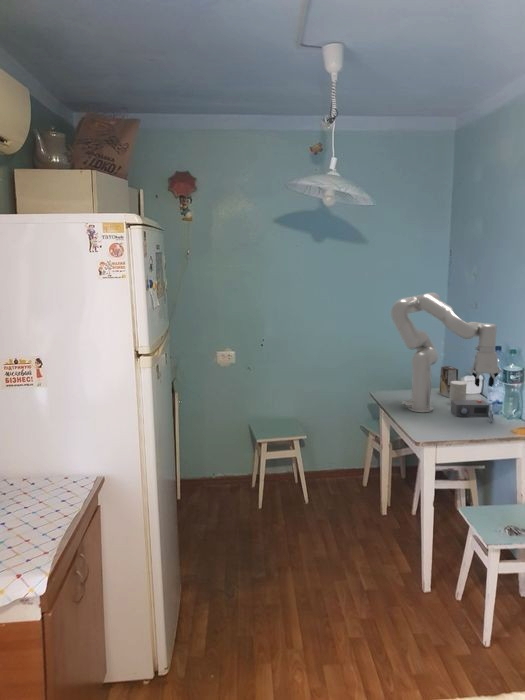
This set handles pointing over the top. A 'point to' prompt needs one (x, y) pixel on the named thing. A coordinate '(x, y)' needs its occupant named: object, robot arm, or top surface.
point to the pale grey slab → (491, 412)
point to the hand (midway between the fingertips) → (483, 385)
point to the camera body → (470, 408)
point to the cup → (457, 390)
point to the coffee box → (447, 379)
